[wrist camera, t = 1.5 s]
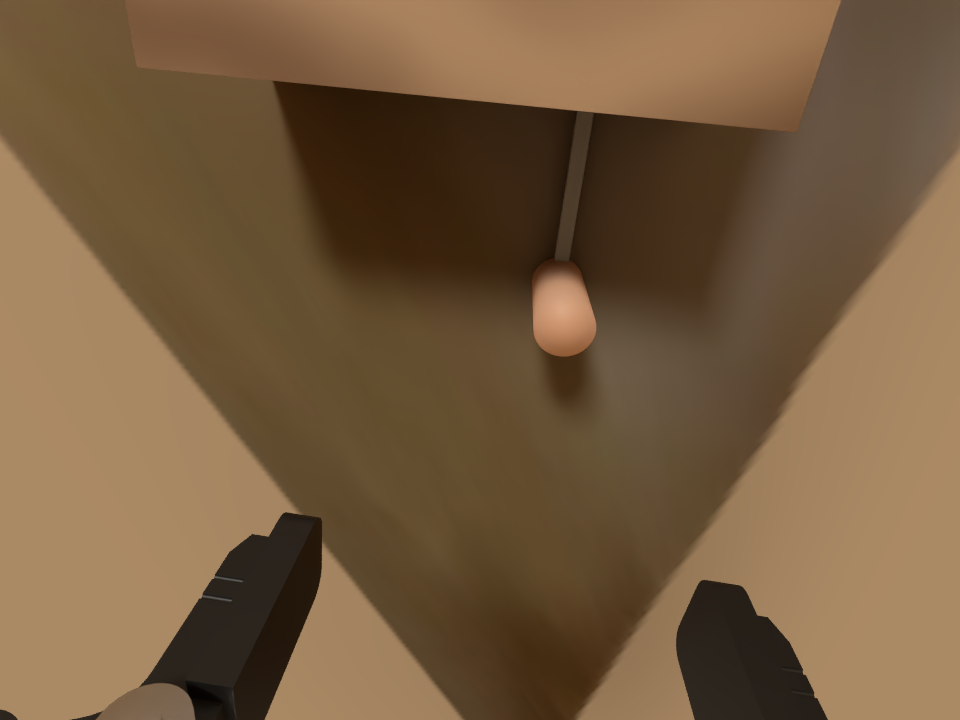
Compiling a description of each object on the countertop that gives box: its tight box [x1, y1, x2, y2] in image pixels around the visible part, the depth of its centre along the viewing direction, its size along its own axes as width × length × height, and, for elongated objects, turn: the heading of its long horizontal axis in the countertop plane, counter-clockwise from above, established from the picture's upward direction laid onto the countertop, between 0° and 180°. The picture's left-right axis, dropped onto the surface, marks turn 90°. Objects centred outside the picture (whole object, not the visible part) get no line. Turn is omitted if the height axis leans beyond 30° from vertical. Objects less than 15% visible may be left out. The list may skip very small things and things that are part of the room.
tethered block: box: [532, 111, 596, 357], centre depth 21 cm, size 18×5×6 cm, turn 175°
